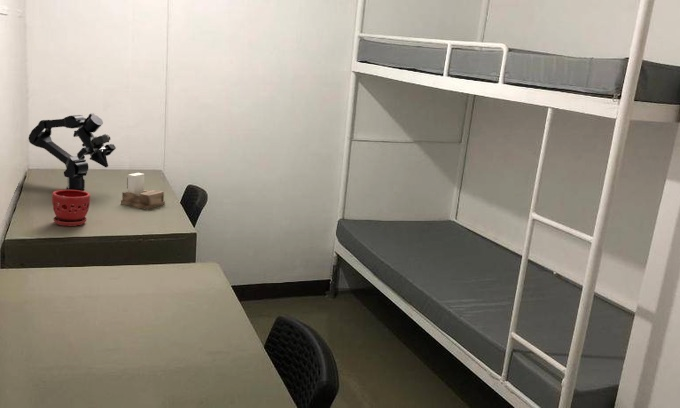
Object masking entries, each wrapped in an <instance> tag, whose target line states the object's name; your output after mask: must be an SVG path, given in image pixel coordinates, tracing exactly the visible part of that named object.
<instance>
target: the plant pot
mask: <svg viewBox="0 0 680 408" xmlns="http://www.w3.org/2000/svg"><path fill="white" fill-rule="evenodd" d="M51 198H52V208H53V212H54V215H55V216H54V217H53V221H54V223H56V224H57V225H59V226H64V227H76V226H80V225H81V226H82V225H84V224H85V223H86V222H87V220H88V219H87V217H86V216H87V214H88V212H89V208H90V203H91V194H90V193H89V192H88V191H85V190H68V189H60V190H55V191H53V192H52V196H51Z"/></svg>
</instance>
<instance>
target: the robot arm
mask: <svg viewBox="0 0 680 408" xmlns="http://www.w3.org/2000/svg"><path fill="white" fill-rule="evenodd" d="M103 124H104V121H103V119H102V118H101V117H99V116H98V115H96V114H95V113H93V112H92V113H90V114H88V116H87V117H84V115H82V114H78V115H77V114H76V115H75V114H74V115H68V116H65V117H63V118H58V119H43V120H40V121H39V122H38V124H37V125H36V126H35V127H34V128H32V130H31V131H30V133H29V135H28V142H29V144H31V145H33V146H34V147H36V148H37V147H38V148H41V149H44V150H45V151H47V153H50V155H52V156H54V157H55V158H56V159H57V160H59V161H60V162H62V163H63V165H65V168H66V169H65V170H64V171H63V176H64V177H65V178H67V186H66V189H67V188H68V189H67V190H79V191H85V185H86V184H85V183H86V182H85V180H86V179H84V177H85V176H87V174H88V171H89V163H88V162H87V161H86V159H85V156H89V155H90V157H89V160H90V161H93V162H95V163H97V164H99V165H101V166H102V167H104V168H108V167H109V163H108V159H107V157H108V156H110V155H111V154H112V153H113V152H114V151H115V150H116V149H117V147H116V146H115V144H113V143H110V141H111V136H110V134H109V133H104V134H102V135H99V136H98V135H97V136H95V135H94V134H93V133H96V132H97V131H98V130H99V129H100V128H101V127H102V125H103ZM53 128H66V129H76V130H74V131H73V132H74V133H73V137H74V138H76V137H78V138H79V139H80V141H81V142H82V144H81V147H82V148H81V149H80V150H79V151H78V152H77V153H76V156H73V155H71V154H70V153H69V152H67V151H66V150H65V149H63V148H62V147H60V146H59V145H57V144H56V143H55V142H53V140H52V137H51V135H52V129H53ZM106 143H110V144H106Z"/></svg>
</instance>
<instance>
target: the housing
mask: <svg viewBox="0 0 680 408" xmlns="http://www.w3.org/2000/svg"><path fill="white" fill-rule="evenodd" d="M164 197H165V193H164V191H163V190H157V189H152V190H146V189H145V188H144V193H140V194H139V195H138V194H133V193H131V192H130V193H129V192H128V191H123V192H122V199H121V200H120V204H121V205H125V206H130V207H133V208H139V209H142V210H149V209H153V208H157V206H158V207H160V206H164V204H165V205H166V201H165V200H164V199H165V198H164Z"/></svg>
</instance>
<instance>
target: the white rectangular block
mask: <svg viewBox="0 0 680 408" xmlns="http://www.w3.org/2000/svg"><path fill="white" fill-rule="evenodd" d="M126 178H127V179H126V180H127V181H126V182H127V183H126V185H127V186H126V189H127V192H129V193H130V192H131V193H133V194H138V195H139V194H140V193H144V189H145V173H143V172H142V173H141V172H135V173H129V174H127V177H126Z"/></svg>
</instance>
